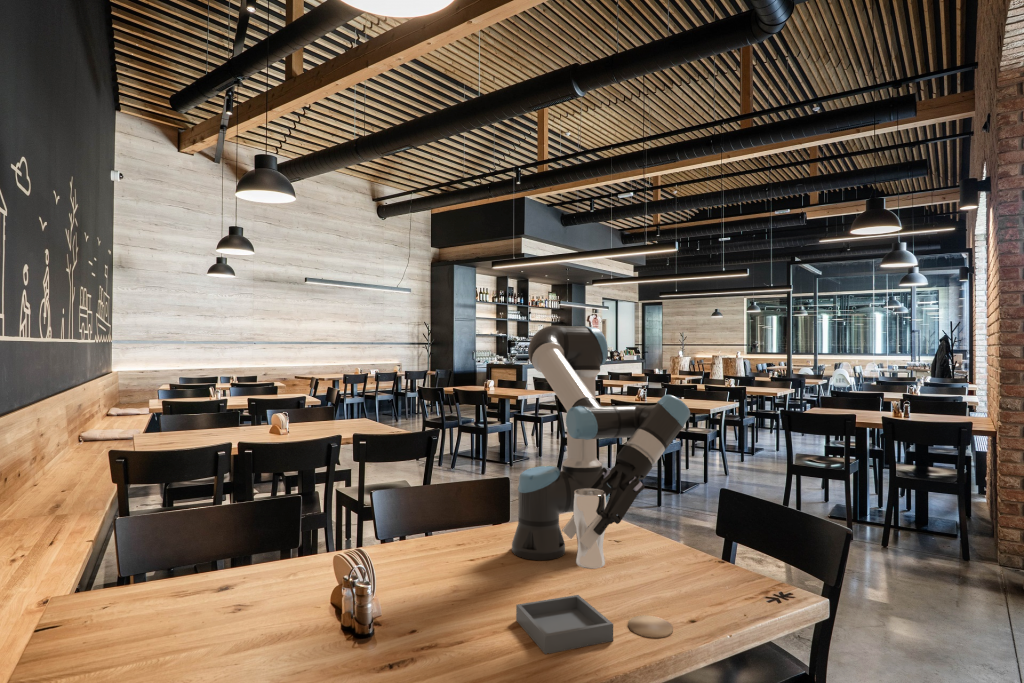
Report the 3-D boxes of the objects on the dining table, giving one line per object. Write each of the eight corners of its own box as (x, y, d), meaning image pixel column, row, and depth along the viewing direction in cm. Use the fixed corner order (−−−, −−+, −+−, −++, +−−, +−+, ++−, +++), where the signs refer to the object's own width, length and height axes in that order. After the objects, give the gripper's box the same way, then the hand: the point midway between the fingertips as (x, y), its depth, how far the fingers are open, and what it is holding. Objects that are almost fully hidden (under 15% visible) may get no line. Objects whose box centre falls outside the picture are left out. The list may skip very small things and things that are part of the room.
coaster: (619, 621, 120) (619, 619, 120) (655, 614, 124) (655, 612, 124) (644, 641, 112) (644, 639, 112) (682, 633, 115) (682, 631, 115)
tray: (516, 620, 120) (516, 604, 120) (578, 609, 126) (578, 594, 126) (545, 654, 107) (545, 636, 107) (613, 640, 112) (613, 623, 112)
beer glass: (607, 570, 116) (606, 496, 117) (572, 568, 118) (572, 495, 118) (607, 558, 123) (606, 488, 124) (574, 556, 124) (574, 487, 125)
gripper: (678, 474, 118) (612, 566, 111) (624, 459, 136) (564, 537, 129) (657, 450, 116) (588, 542, 109) (604, 438, 134) (542, 516, 127)
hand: (575, 539), depth 119 cm, fingers closed on beer glass, 7 cm apart
